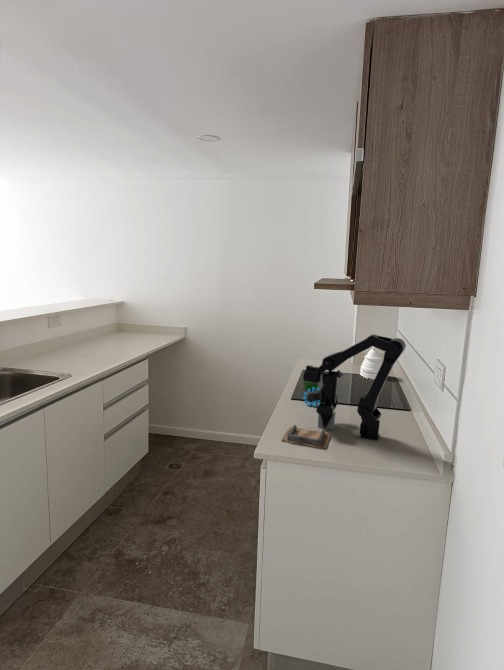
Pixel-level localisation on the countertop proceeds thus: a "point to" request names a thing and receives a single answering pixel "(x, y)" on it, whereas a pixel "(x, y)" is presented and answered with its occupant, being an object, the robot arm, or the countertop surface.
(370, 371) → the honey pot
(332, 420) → the block
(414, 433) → the countertop surface
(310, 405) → the blue splash shape
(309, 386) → the bell pepper
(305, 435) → the dock
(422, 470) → the countertop surface
